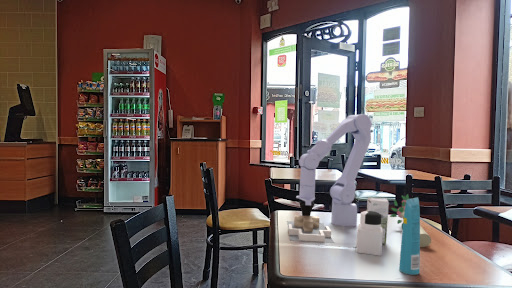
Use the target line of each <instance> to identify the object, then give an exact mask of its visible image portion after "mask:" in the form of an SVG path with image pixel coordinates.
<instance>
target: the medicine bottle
mask: <svg viewBox="0 0 512 288" xmlns="http://www.w3.org/2000/svg"><path fill="white" fill-rule="evenodd" d="M359 220H360V221H359V222H360V223H359V224H358V225H357V226H358V227H357V232H356V233H357V234H356V250H355V252H356V253H358V254H366V255H373V256H374V255H375V256H380V257H381V256H382V251H383V244H382V236H383V228H382V227H381V214H380V213H378V212H374V211H367V210H364V211H361V212H360V219H359Z"/></svg>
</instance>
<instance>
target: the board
mask: <svg viewBox="0 0 512 288" xmlns="http://www.w3.org/2000/svg"><path fill="white" fill-rule="evenodd" d="M286 223H287V227H288V226H289V224H292V228H295V229H301V230H302V233H303V234H318V235H319V230H325V226H326V225H325V224H324V223H322V222H319V228H315V227H313V232H311V231H304V229H303V227H297V226H294V221H286ZM288 237H289V241H292V242H293V241H294V242H301V241H300V240H299V237H298V235H289V234H288ZM306 242H307V243H309V242H311V243H318V242H317V241H306ZM323 243H324V244H325V243H326V244H335V242H334V240H333V238H332V236H331V237H325V242H323ZM300 244H303V243H300ZM317 245H320V244H317Z"/></svg>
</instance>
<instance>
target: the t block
mask: <svg viewBox="0 0 512 288" xmlns="http://www.w3.org/2000/svg"><path fill="white" fill-rule="evenodd" d="M293 218H294V221H293V222H294V226H297V227H303V229H304V231H311V232H313V227H315V228H319V223H320V217H319V216H316V215H314V216H313V215H310V216H302V215H301V214H300V215H298V214H297V215H295V214H294V217H293Z"/></svg>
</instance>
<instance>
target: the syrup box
mask: <svg viewBox="0 0 512 288" xmlns="http://www.w3.org/2000/svg"><path fill="white" fill-rule="evenodd" d="M366 201H367V203H366V204H367V205H366V211H374V212H378V213H380V214H381V227H382V228H383V236H382V245H386V244H387V234H388V219H389V218H388V217H389V205H390V202H389V200H388V199H387V198H384V197H370V196H369V197H367V200H366Z"/></svg>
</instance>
